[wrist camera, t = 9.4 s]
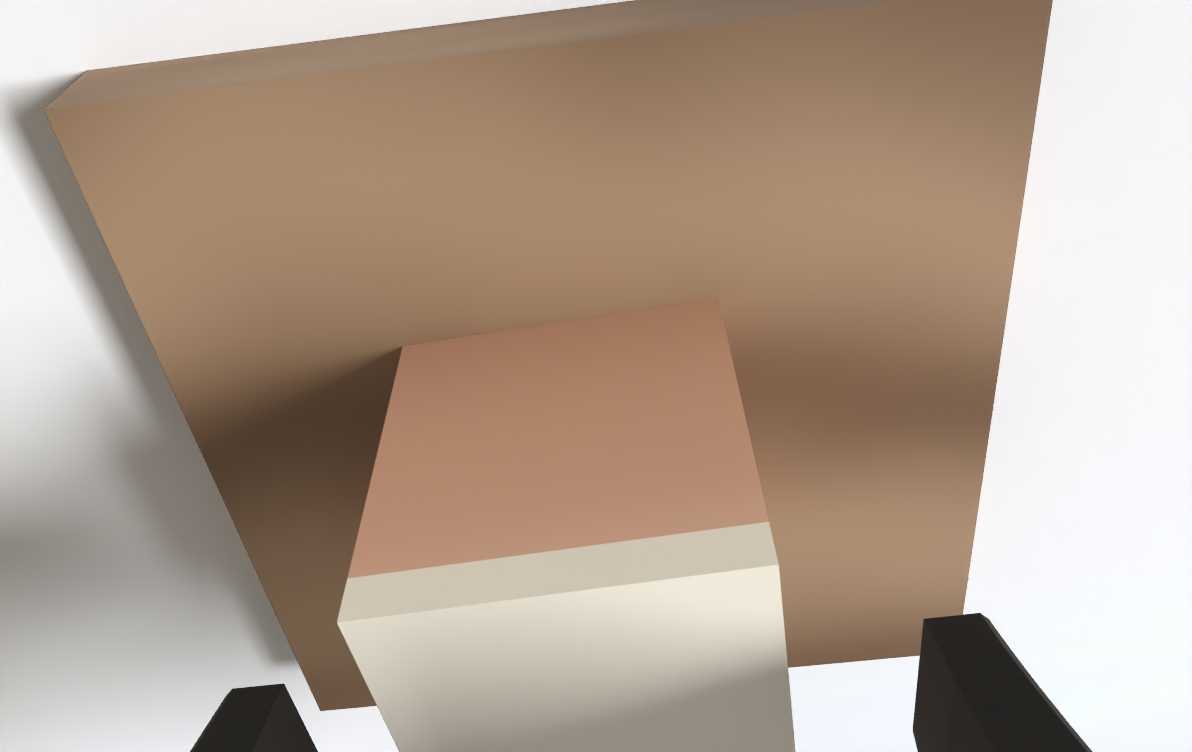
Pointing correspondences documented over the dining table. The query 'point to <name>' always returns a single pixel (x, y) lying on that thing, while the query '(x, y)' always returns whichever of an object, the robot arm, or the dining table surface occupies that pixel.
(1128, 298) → the dining table surface
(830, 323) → the walnut block
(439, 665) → the lidded terracotta box
